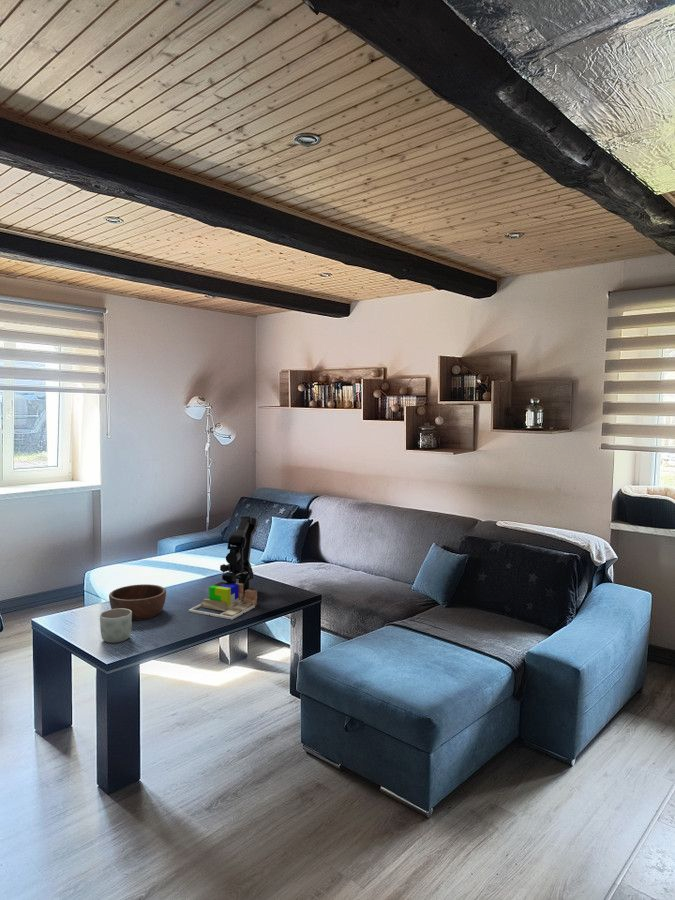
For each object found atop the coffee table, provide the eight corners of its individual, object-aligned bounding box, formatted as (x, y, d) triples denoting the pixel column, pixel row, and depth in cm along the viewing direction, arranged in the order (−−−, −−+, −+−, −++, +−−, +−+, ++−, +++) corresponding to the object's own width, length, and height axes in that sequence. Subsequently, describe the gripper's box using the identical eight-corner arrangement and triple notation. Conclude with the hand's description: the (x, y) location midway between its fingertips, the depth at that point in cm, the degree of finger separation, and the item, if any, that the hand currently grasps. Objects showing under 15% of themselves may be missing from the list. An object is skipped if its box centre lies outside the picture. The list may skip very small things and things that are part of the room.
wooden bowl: (110, 607, 288) (110, 586, 287) (165, 602, 296) (165, 582, 295) (107, 625, 264) (107, 602, 264) (167, 620, 272) (167, 597, 271)
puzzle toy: (238, 604, 294) (238, 584, 293) (226, 610, 285) (226, 589, 284) (221, 601, 298) (221, 581, 298) (209, 607, 289) (209, 587, 288)
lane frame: (213, 600, 300) (213, 598, 300) (255, 607, 290) (255, 605, 290) (188, 611, 283) (188, 609, 283) (232, 619, 273) (232, 617, 273)
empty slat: (248, 603, 296) (248, 589, 295) (256, 604, 294) (256, 590, 293) (223, 616, 277) (223, 601, 276) (232, 618, 275) (232, 603, 274)
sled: (226, 594, 309) (226, 581, 308) (251, 598, 303) (251, 585, 302) (201, 607, 290) (201, 592, 289) (227, 611, 284) (227, 596, 283)
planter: (122, 631, 257) (122, 606, 257) (138, 639, 249) (137, 613, 249) (94, 639, 248) (94, 613, 247) (109, 647, 240) (109, 620, 239)
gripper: (234, 553, 315) (234, 583, 316) (212, 561, 298) (212, 592, 299) (252, 555, 310) (252, 585, 311) (231, 564, 293) (231, 595, 294)
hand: (237, 589), depth 304 cm, fingers open, 9 cm apart
